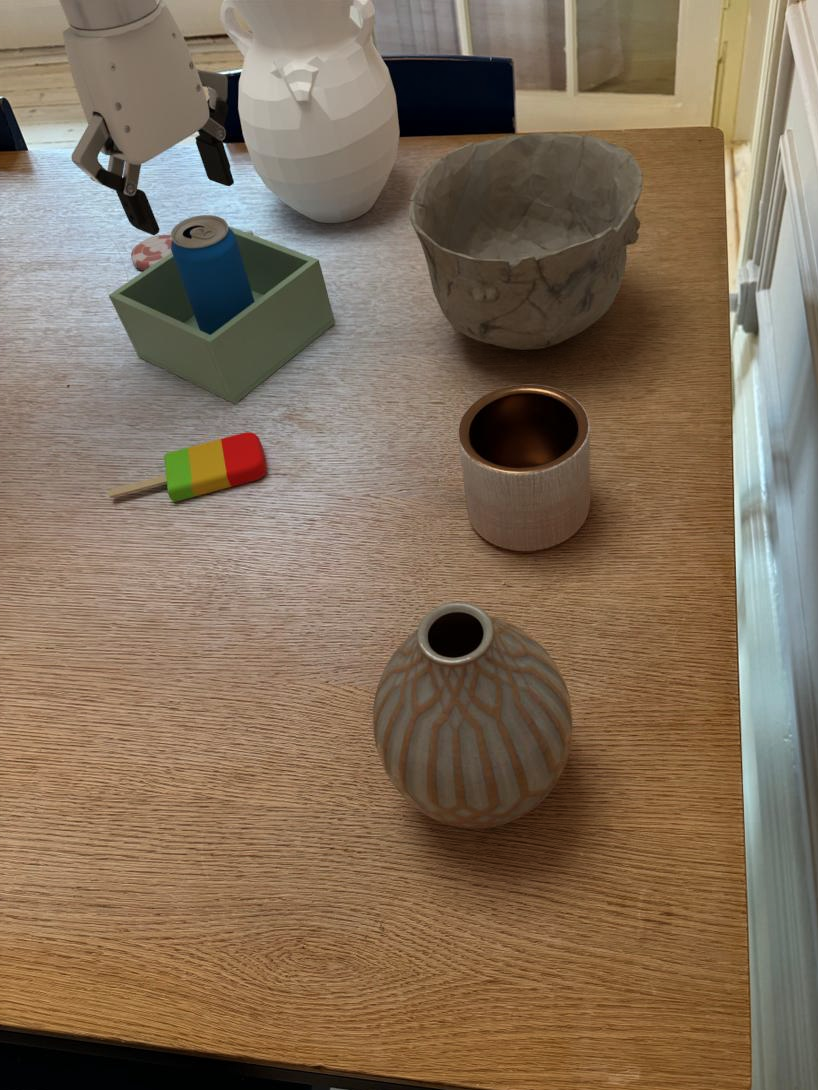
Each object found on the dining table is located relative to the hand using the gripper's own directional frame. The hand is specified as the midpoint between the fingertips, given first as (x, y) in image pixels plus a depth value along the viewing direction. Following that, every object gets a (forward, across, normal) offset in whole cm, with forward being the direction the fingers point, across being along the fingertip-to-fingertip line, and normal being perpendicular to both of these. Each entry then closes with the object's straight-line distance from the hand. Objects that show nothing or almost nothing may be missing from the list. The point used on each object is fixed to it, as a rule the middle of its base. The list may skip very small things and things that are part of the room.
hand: (185, 205), depth 85 cm
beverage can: (+15, 0, 0) cm, 15 cm away
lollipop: (+15, -10, -18) cm, 26 cm away
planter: (+15, +4, +42) cm, 45 cm away
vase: (+15, +27, +54) cm, 62 cm away
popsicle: (+16, +18, +12) cm, 27 cm away
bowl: (+15, -18, +27) cm, 36 cm away
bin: (+15, 0, 0) cm, 15 cm away
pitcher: (+15, -27, -9) cm, 32 cm away
